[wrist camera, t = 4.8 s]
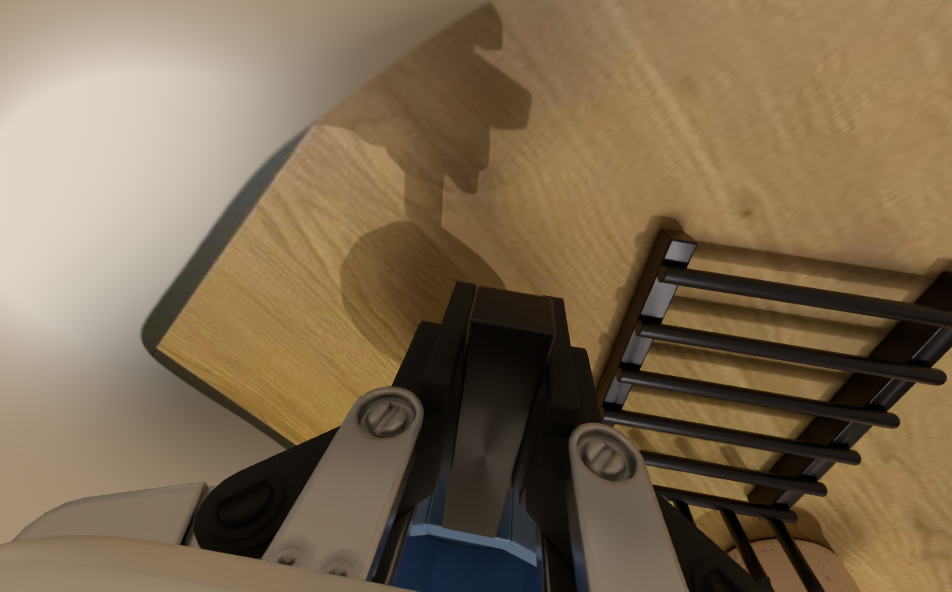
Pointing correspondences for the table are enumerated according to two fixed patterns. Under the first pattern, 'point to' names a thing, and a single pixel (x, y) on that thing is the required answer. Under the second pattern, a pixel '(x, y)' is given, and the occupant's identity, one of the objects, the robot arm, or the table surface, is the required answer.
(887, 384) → the dish rack
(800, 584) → the teacup with lid
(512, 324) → the saucepan
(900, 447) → the table surface
